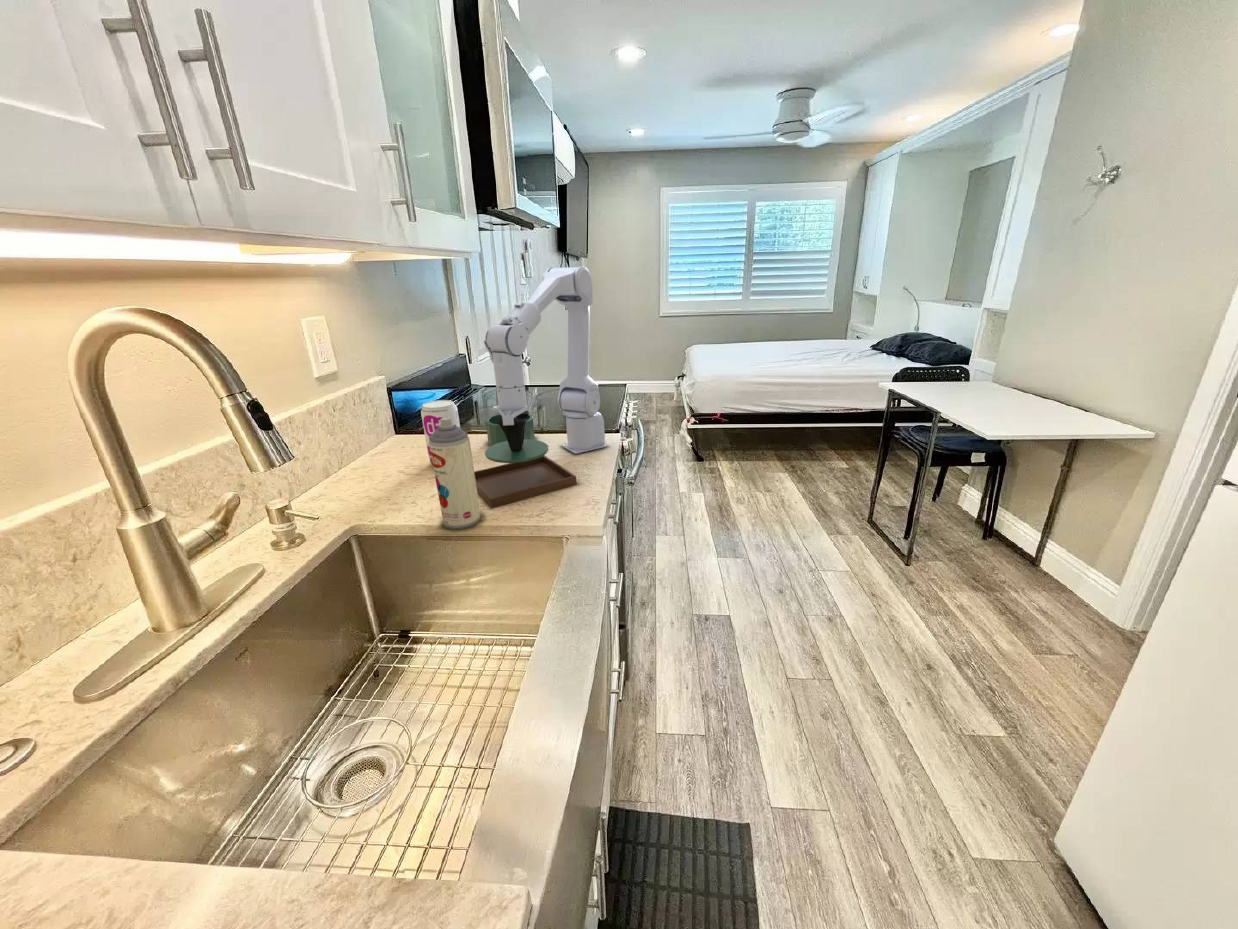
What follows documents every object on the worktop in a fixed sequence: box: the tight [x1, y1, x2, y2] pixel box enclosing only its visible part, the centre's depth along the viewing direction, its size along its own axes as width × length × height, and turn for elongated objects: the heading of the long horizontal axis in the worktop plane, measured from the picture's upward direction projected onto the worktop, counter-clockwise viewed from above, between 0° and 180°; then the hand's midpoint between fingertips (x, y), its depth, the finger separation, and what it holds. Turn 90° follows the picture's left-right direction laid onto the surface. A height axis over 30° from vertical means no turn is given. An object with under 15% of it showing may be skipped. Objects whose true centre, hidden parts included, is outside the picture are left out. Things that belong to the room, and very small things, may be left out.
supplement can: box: [420, 399, 461, 466], centre depth 118 cm, size 8×8×15 cm
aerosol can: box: [429, 417, 482, 530], centre depth 89 cm, size 7×7×20 cm
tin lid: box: [484, 439, 549, 464], centre depth 105 cm, size 13×13×4 cm
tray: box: [474, 454, 578, 508], centre depth 108 cm, size 19×16×2 cm
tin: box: [485, 413, 536, 447], centre depth 134 cm, size 12×12×6 cm
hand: (517, 447), depth 105 cm, fingers closed on tin lid, 2 cm apart
